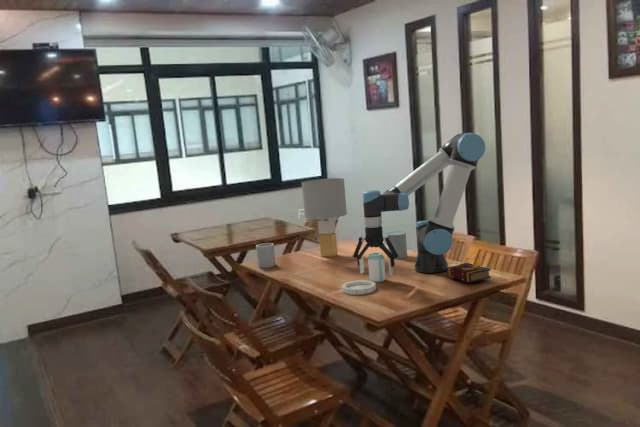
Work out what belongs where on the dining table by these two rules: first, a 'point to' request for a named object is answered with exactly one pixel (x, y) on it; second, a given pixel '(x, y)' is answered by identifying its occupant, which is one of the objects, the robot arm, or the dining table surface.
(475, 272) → the decorative book
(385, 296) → the dining table surface
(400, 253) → the grey concrete cylinder
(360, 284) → the saucer
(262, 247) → the cup
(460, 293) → the dining table surface
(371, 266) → the can
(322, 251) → the lamp
